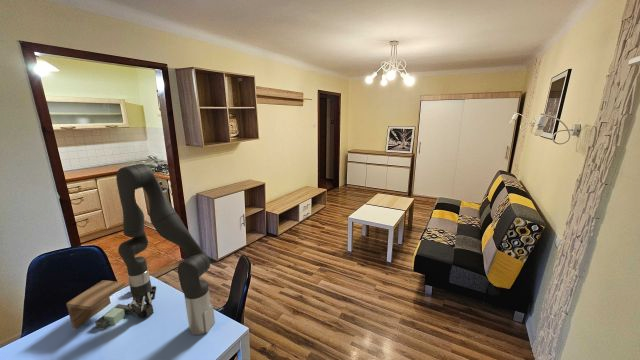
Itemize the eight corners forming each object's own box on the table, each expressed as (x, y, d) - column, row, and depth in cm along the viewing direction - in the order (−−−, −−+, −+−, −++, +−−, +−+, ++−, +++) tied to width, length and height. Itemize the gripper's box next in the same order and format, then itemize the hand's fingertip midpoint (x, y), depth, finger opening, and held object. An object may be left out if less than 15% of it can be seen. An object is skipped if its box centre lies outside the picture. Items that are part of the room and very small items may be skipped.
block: (125, 316, 119) (123, 309, 118) (115, 325, 114) (113, 317, 113) (115, 315, 120) (114, 307, 119) (105, 323, 115) (103, 315, 114)
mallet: (153, 312, 121) (152, 304, 120) (132, 333, 110) (130, 324, 109) (120, 308, 124) (119, 300, 123) (96, 327, 113) (94, 319, 112)
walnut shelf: (129, 305, 126) (124, 282, 123) (96, 332, 110) (90, 306, 107) (108, 302, 128) (102, 280, 125) (73, 328, 112) (66, 303, 109)
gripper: (133, 292, 108) (140, 327, 112) (159, 272, 122) (164, 304, 126) (117, 290, 109) (125, 324, 114) (145, 270, 123) (150, 302, 127)
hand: (145, 313), depth 120 cm, fingers closed on mallet, 3 cm apart
